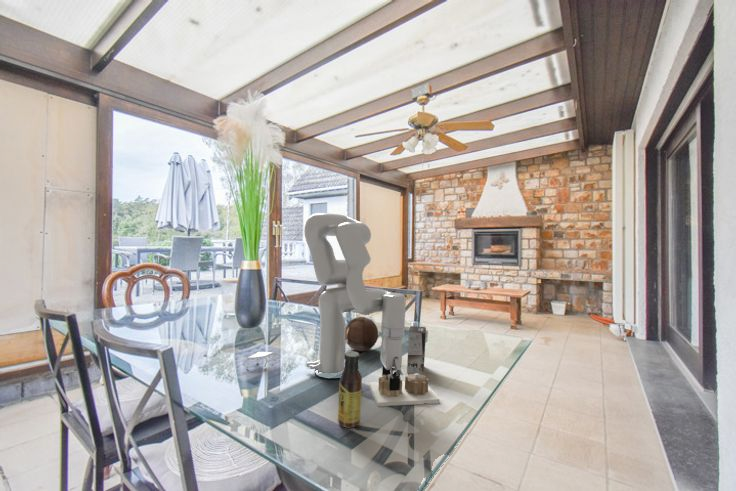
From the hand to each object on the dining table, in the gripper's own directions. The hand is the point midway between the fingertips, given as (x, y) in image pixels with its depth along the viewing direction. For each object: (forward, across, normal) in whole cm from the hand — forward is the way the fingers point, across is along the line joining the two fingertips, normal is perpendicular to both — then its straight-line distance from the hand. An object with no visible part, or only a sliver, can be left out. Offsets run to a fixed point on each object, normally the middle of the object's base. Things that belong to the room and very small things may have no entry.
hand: (390, 383), depth 112 cm
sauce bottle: (+4, +14, -16) cm, 22 cm away
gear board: (+4, 0, +4) cm, 6 cm away
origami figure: (+4, -27, -45) cm, 53 cm away
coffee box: (+4, -20, +16) cm, 25 cm away
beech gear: (+3, 0, 0) cm, 3 cm away
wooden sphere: (+4, -42, -2) cm, 43 cm away
